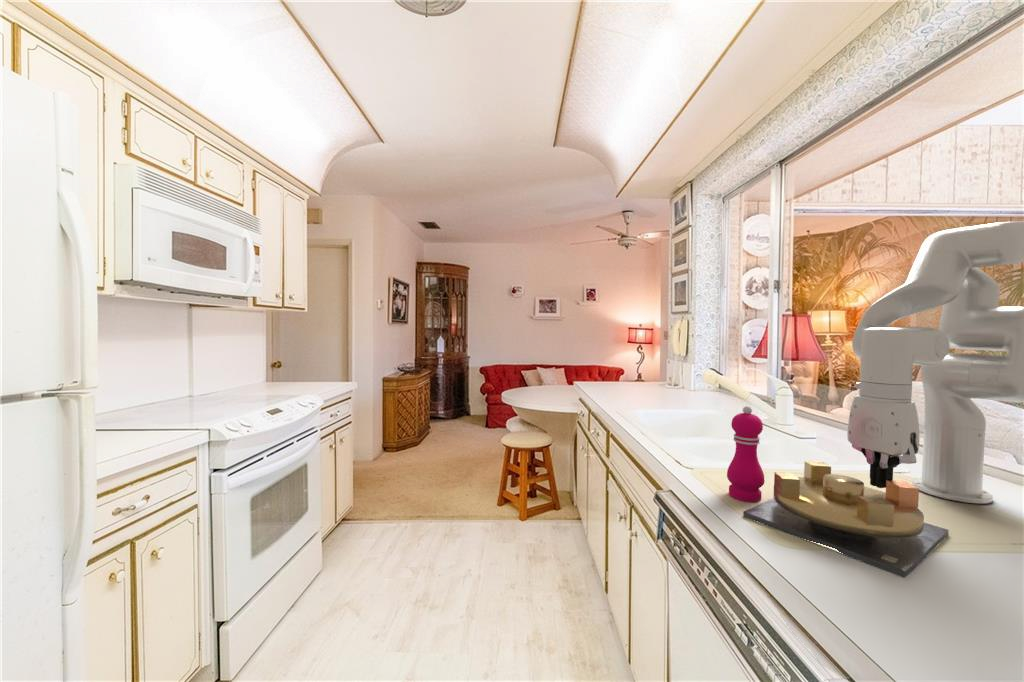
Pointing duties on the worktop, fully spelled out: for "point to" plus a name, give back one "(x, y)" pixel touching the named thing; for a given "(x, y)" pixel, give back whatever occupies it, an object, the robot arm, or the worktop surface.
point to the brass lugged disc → (850, 502)
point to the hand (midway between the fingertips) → (880, 485)
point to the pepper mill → (746, 458)
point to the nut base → (854, 539)
